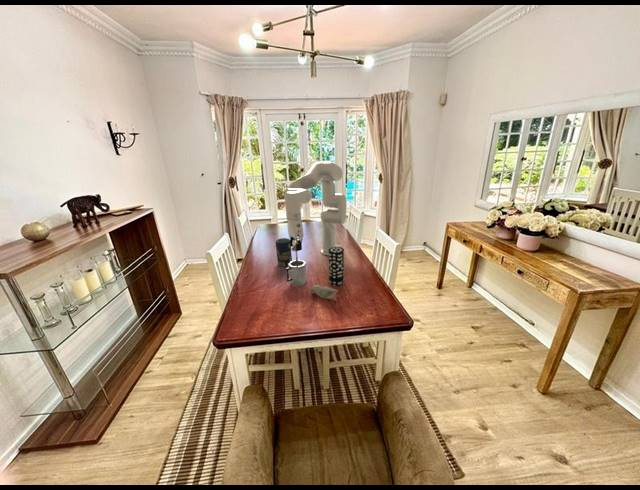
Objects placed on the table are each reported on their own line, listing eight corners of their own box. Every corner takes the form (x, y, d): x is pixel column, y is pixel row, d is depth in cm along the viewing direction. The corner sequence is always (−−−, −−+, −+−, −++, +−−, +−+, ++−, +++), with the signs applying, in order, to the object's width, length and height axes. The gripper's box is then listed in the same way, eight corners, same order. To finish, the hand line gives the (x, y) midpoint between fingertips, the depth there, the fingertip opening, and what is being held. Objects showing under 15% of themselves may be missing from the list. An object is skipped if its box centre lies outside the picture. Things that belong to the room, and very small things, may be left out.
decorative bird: (315, 291, 134) (315, 278, 131) (341, 301, 125) (341, 288, 122) (309, 295, 130) (308, 283, 127) (335, 306, 121) (335, 293, 118)
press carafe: (301, 276, 149) (300, 258, 144) (309, 283, 141) (308, 264, 137) (284, 282, 143) (282, 263, 139) (290, 289, 136) (289, 269, 132)
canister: (289, 267, 160) (287, 241, 153) (275, 267, 162) (272, 241, 155) (294, 261, 169) (292, 236, 162) (280, 260, 170) (278, 235, 164)
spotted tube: (345, 279, 144) (345, 247, 137) (341, 287, 137) (341, 253, 129) (331, 277, 147) (331, 246, 139) (327, 284, 139) (326, 252, 132)
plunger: (299, 264, 143) (297, 238, 137) (304, 267, 138) (302, 241, 132) (290, 266, 140) (288, 240, 134) (295, 270, 136) (293, 243, 130)
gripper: (308, 218, 123) (309, 251, 130) (293, 211, 137) (295, 241, 144) (294, 221, 120) (296, 255, 126) (280, 213, 133) (283, 244, 140)
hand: (296, 247), depth 135 cm, fingers open, 6 cm apart
